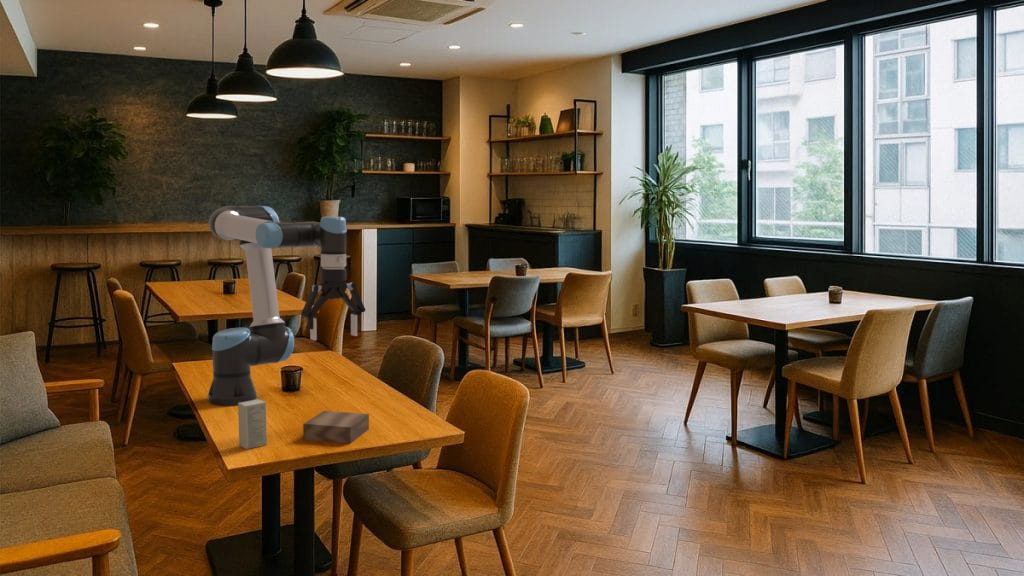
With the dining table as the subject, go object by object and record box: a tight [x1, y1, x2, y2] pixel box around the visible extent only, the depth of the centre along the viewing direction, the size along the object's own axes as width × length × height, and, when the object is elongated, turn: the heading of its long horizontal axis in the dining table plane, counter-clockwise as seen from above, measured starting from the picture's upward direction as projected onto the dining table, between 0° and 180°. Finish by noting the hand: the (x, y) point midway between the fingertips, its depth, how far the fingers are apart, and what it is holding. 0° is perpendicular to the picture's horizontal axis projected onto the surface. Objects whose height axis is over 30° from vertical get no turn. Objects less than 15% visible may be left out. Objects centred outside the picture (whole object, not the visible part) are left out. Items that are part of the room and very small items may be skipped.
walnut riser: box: [302, 410, 370, 445], centre depth 230 cm, size 14×14×5 cm
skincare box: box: [237, 398, 268, 450], centre depth 218 cm, size 6×4×12 cm
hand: (334, 337), depth 245 cm, fingers open, 13 cm apart
